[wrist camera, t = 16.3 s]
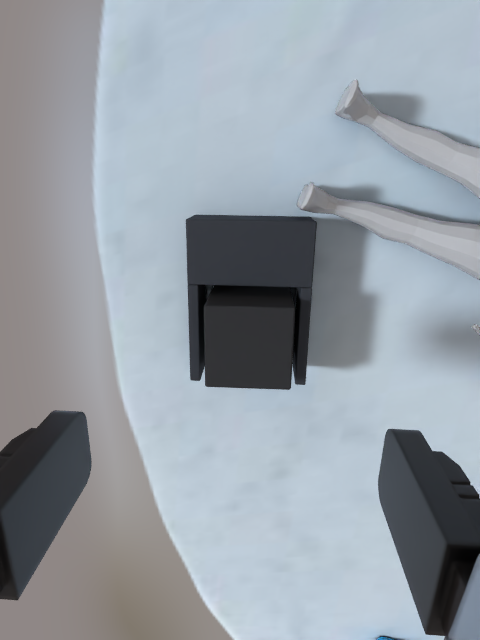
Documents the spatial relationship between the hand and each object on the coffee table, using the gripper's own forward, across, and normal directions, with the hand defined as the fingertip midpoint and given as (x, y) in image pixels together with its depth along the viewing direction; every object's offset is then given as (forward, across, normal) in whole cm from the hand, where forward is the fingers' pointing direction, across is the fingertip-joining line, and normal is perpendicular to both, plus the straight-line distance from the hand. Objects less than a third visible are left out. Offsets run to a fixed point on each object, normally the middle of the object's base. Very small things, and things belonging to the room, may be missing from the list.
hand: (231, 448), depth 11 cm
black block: (+12, 0, 0) cm, 12 cm away
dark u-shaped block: (+12, 0, -1) cm, 12 cm away
